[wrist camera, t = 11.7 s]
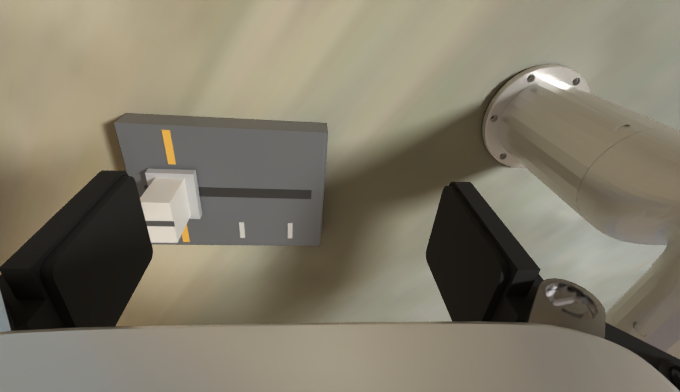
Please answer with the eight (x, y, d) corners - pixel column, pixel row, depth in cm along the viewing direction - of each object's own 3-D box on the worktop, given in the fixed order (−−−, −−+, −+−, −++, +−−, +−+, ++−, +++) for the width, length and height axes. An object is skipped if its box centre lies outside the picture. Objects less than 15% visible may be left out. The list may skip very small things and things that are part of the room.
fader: (195, 170, 39) (179, 199, 34) (202, 214, 42) (188, 247, 37) (148, 168, 39) (124, 198, 34) (158, 213, 42) (137, 246, 37)
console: (326, 123, 41) (328, 133, 38) (319, 232, 49) (320, 246, 47) (126, 113, 39) (113, 123, 36) (154, 229, 47) (145, 244, 44)
